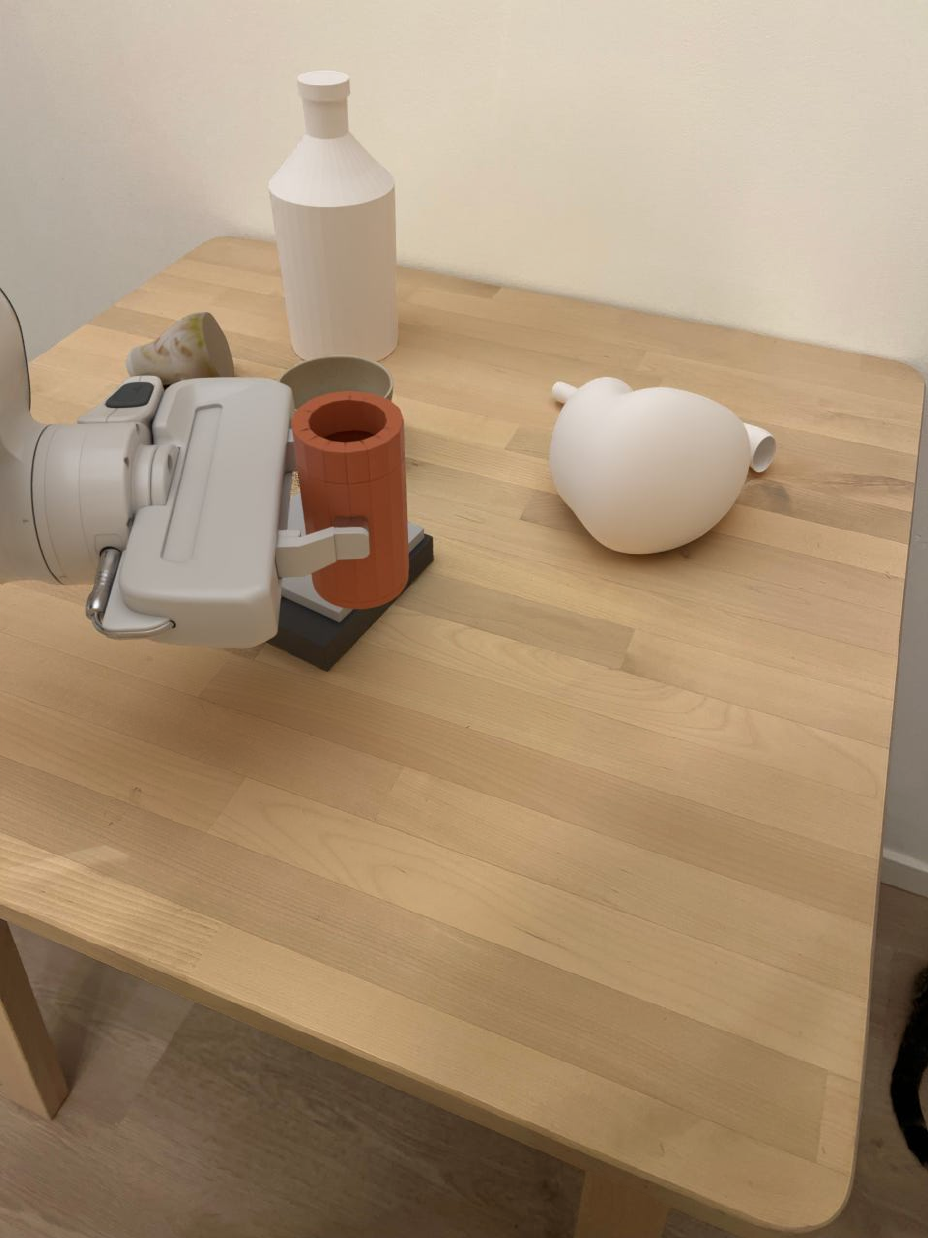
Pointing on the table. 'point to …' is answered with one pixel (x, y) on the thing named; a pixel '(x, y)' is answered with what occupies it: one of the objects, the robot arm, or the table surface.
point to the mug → (184, 352)
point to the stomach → (650, 462)
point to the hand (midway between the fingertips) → (369, 495)
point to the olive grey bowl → (336, 377)
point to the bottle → (335, 232)
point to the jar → (355, 491)
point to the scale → (321, 625)
